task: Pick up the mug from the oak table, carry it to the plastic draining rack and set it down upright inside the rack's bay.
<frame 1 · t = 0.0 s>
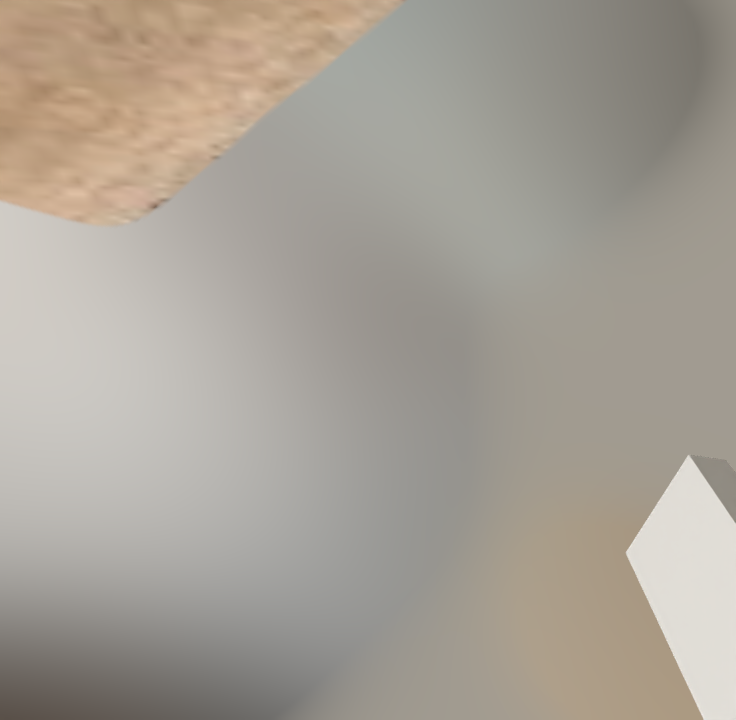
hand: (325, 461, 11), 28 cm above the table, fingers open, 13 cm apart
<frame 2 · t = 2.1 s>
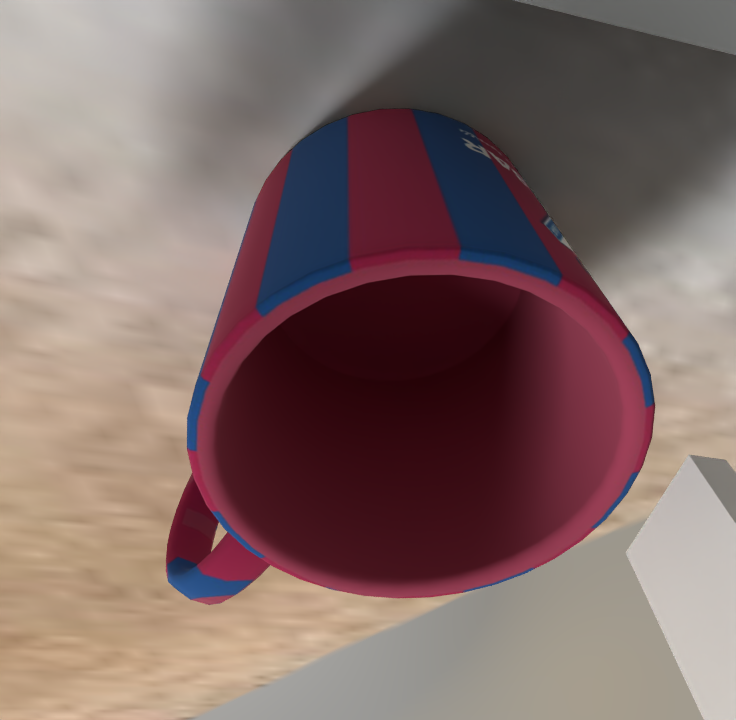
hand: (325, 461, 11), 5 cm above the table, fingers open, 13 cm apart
mug: (338, 292, 15), on the table
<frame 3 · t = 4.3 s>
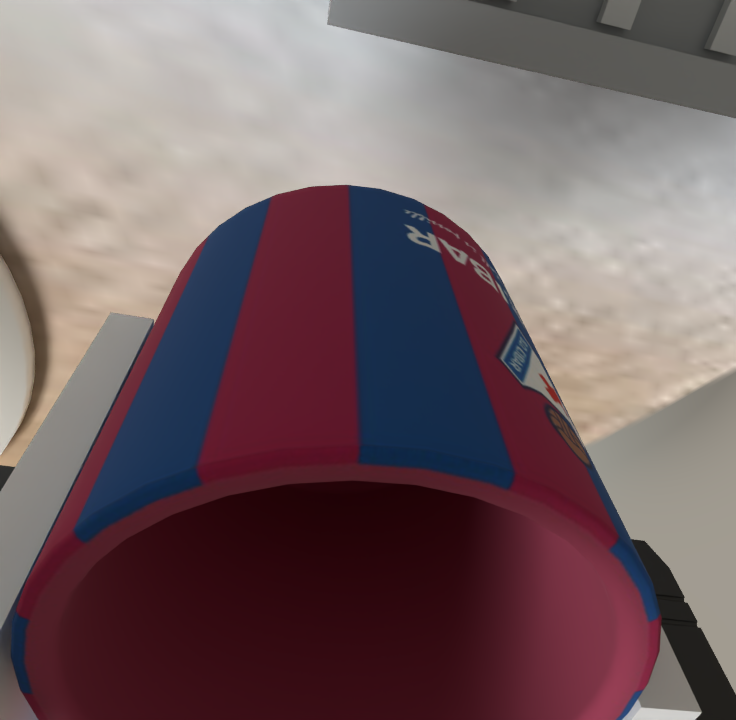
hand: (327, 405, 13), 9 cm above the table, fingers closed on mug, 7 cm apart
mug: (282, 391, 13), point 8 cm above the table, touching gripper
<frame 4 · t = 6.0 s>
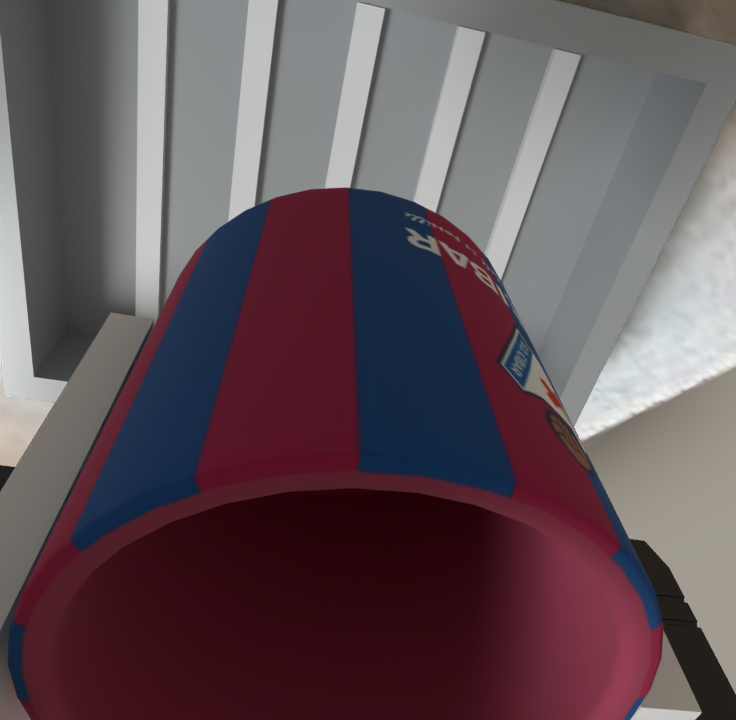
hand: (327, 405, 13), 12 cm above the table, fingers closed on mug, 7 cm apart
rack: (332, 199, 23), on the table
mug: (281, 394, 13), point 11 cm above the table, touching gripper
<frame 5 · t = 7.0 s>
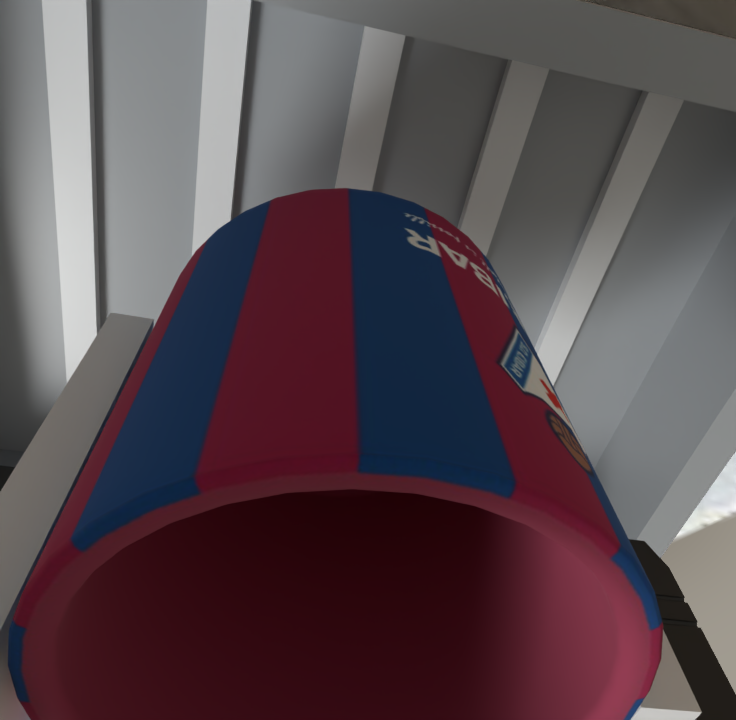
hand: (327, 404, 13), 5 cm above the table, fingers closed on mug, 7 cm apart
rack: (330, 279, 17), on the table
mug: (281, 394, 13), point 5 cm above the table, touching gripper
when the fingers open (2 cm above the table, at t = 8.0 s): mug stays where it is, resting on rack.
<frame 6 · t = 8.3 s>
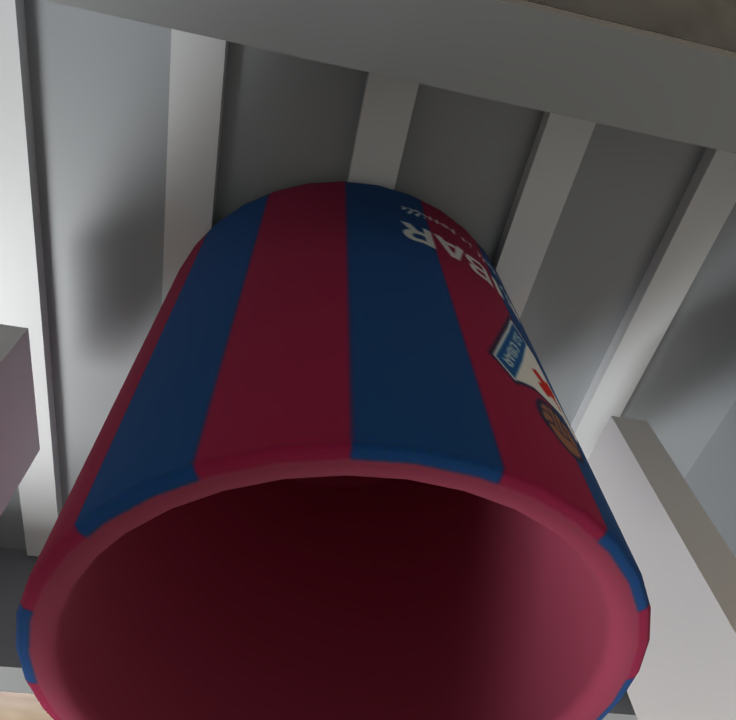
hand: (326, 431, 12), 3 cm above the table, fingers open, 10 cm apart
rack: (328, 350, 14), on the table
mug: (281, 385, 13), point 1 cm above the table, touching rack
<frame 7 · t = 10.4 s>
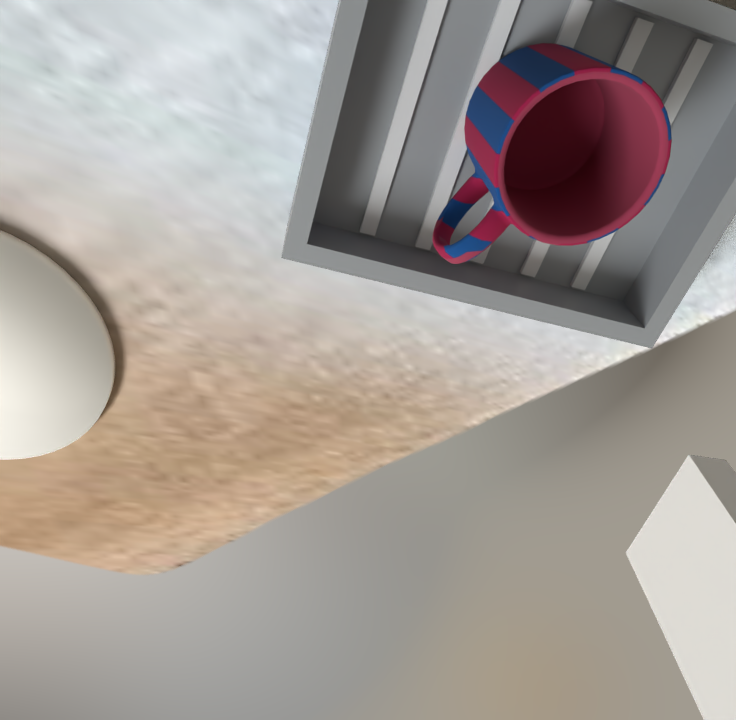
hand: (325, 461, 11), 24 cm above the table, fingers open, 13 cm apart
rack: (517, 136, 31), on the table
mug: (503, 142, 30), point 1 cm above the table, touching rack
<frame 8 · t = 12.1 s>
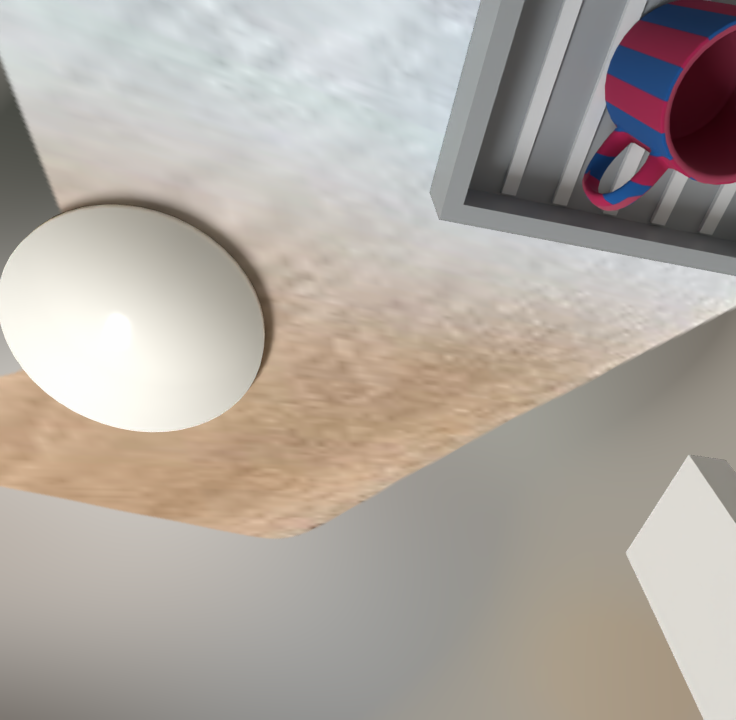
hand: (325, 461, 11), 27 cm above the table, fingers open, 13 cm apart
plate: (139, 323, 40), on the table
rack: (648, 91, 33), on the table
mug: (640, 97, 32), point 1 cm above the table, touching rack
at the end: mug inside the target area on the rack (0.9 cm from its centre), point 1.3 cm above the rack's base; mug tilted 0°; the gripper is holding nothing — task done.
